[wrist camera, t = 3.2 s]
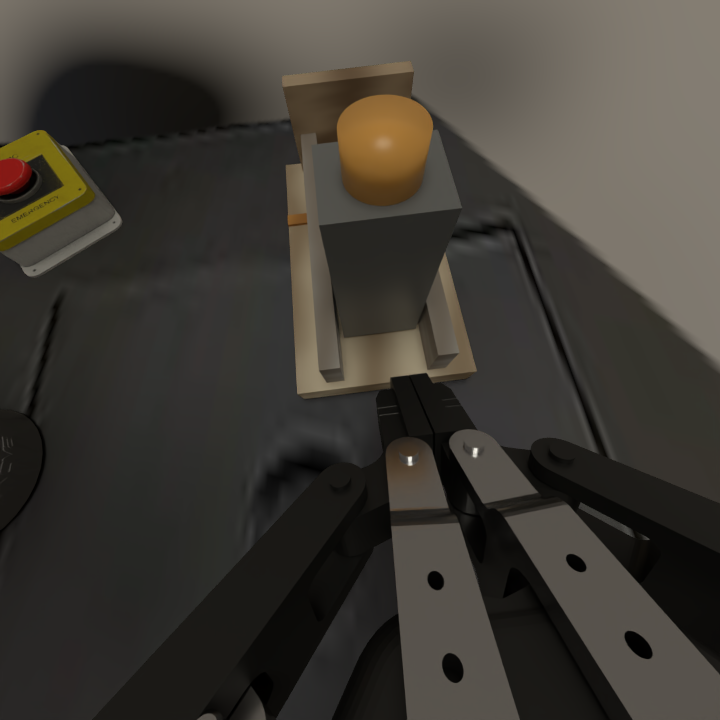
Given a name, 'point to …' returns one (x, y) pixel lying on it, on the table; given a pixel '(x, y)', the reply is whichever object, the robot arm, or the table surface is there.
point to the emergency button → (48, 205)
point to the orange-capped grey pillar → (384, 212)
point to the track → (311, 273)
